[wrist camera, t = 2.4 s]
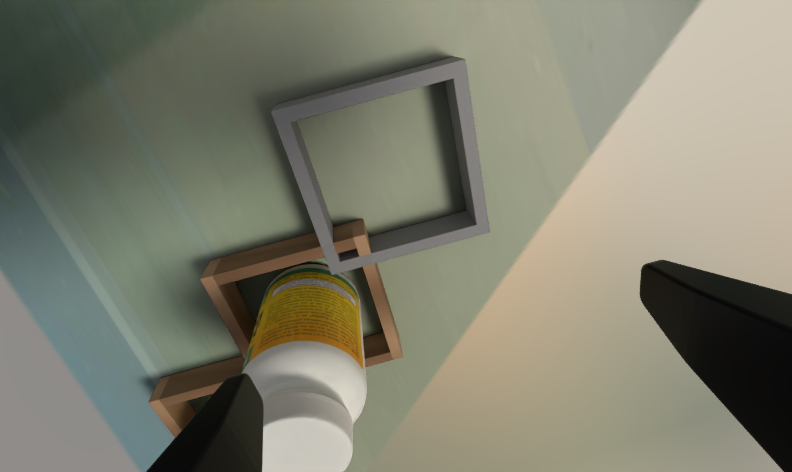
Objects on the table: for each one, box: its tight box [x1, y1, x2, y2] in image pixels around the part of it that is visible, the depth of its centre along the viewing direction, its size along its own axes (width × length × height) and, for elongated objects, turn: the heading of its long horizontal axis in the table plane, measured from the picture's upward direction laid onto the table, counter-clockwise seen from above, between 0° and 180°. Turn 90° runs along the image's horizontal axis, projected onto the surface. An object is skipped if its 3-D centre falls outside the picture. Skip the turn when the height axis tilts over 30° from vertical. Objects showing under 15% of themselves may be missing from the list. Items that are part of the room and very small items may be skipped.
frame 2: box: [271, 57, 490, 275], centre depth 19 cm, size 8×8×2 cm
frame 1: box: [148, 356, 245, 438], centre depth 25 cm, size 8×8×2 cm
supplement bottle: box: [241, 264, 367, 472], centre depth 19 cm, size 5×5×10 cm
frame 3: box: [200, 219, 403, 367], centre depth 22 cm, size 8×8×2 cm
